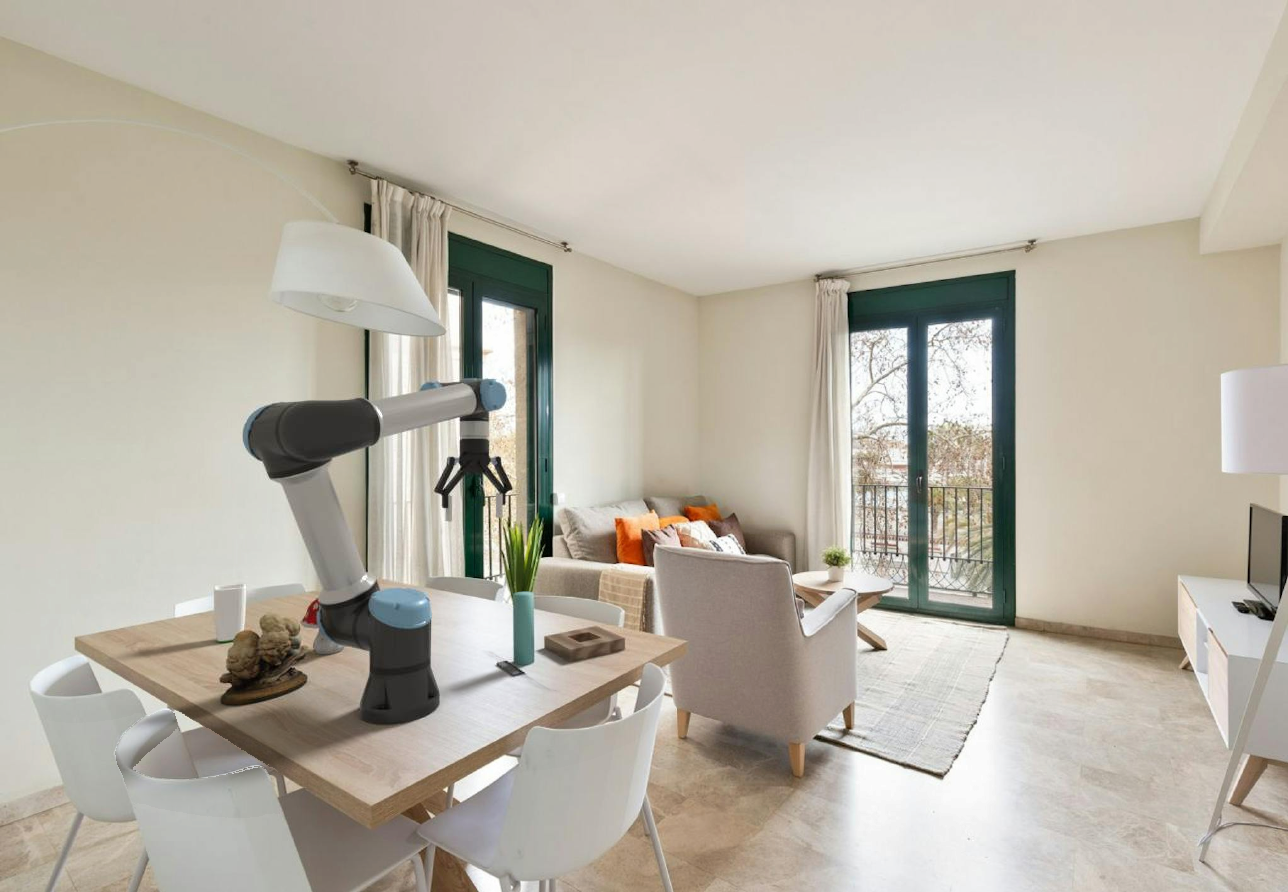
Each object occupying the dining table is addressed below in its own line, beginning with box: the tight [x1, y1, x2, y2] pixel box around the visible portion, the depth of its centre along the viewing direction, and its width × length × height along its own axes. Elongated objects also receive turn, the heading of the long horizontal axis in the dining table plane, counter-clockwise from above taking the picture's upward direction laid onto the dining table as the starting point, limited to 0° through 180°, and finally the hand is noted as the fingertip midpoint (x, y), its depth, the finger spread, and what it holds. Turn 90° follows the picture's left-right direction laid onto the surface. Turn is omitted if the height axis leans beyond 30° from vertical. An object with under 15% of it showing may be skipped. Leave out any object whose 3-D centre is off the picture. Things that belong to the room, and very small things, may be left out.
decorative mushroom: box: [299, 597, 346, 655], centre depth 162 cm, size 14×14×15 cm
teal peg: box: [512, 591, 535, 667], centre depth 149 cm, size 5×5×17 cm
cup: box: [213, 583, 247, 643], centre depth 172 cm, size 7×7×15 cm
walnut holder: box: [543, 625, 626, 663], centre depth 159 cm, size 16×14×4 cm
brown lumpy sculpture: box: [219, 612, 310, 707], centre depth 135 cm, size 18×12×17 cm, turn 150°
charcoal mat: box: [496, 660, 527, 677], centre depth 149 cm, size 10×10×1 cm
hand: (474, 519), depth 160 cm, fingers open, 13 cm apart
